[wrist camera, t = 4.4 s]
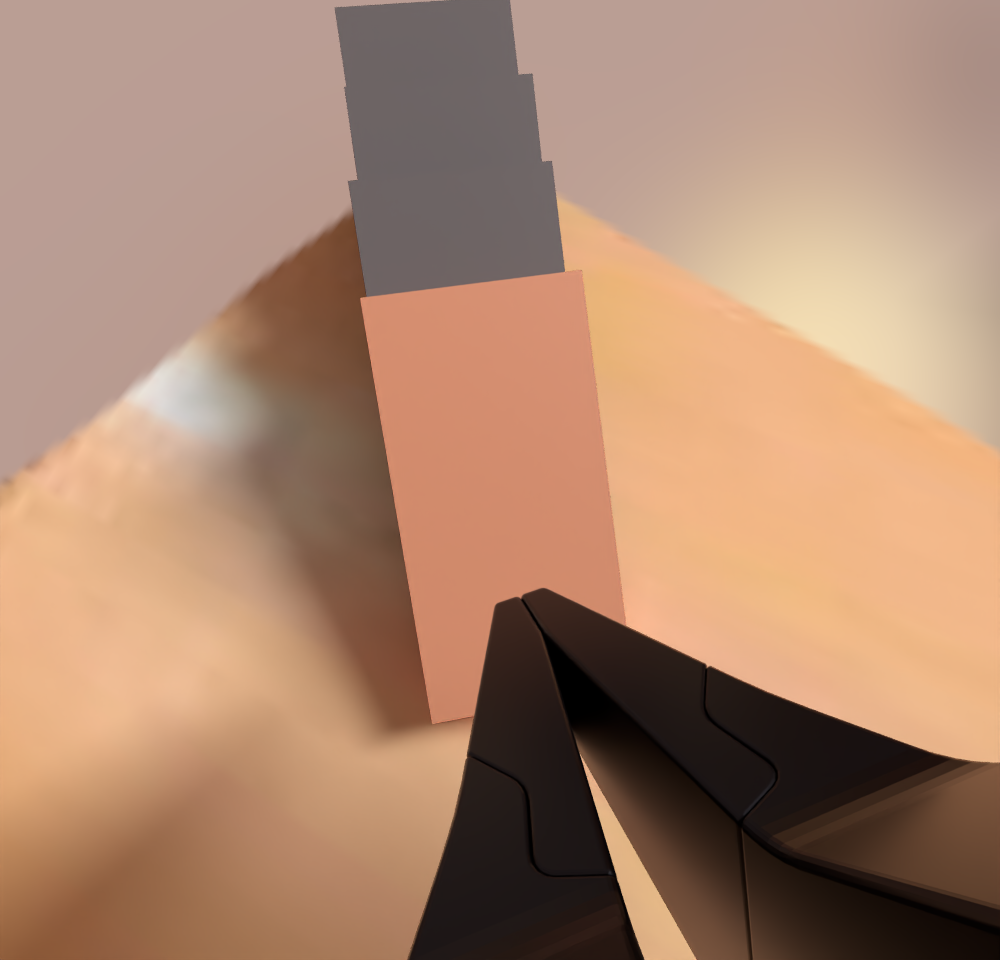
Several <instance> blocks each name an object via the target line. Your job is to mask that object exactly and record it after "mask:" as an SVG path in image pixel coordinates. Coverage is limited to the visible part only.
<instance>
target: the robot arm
mask: <svg viewBox="0 0 1000 960" xmlns="http://www.w3.org/2000/svg"><path fill="white" fill-rule="evenodd" d="M579 752H580V753H579ZM580 754H581V756H582V758H583V759H584V761H585V763H586V765H587V766H588V768H589V770H590V772H591V773H592V775H593V777H594V779H595V781H596V782H597V784H598V786H599V788H600V789H601V791H602V793H603V795H604V796H605V798H606V800H607V802H608V804H609V805H610V807H611V809H612V811H613V812H614V814H615V816H616V818H617V819H618V821H619V823H620V825H621V827H622V828H623V830H624V832H625V834H626V835H627V837H628V839H629V841H630V842H631V844H632V846H633V848H634V849H635V851H636V853H637V855H638V857H639V858H640V860H641V862H642V864H643V865H644V867H645V869H646V871H647V872H648V874H649V876H650V878H651V880H652V881H653V883H654V885H655V887H656V888H657V890H658V892H659V894H660V895H661V897H662V899H663V901H664V903H665V904H666V906H667V908H668V910H669V911H670V913H671V915H672V917H673V918H674V920H675V922H676V924H677V926H678V927H679V929H680V931H681V933H682V934H683V936H684V938H685V940H686V941H687V943H688V945H689V947H690V949H691V950H692V952H693V954H694V956H695V957H696V959H697V960H1000V763H990V762H976V761H968V760H962V759H956V758H952V757H948V756H944V755H940V754H936V753H933V752H929V751H926V750H923V749H920V748H917V747H914V746H912V745H909V744H906V743H903V742H901V741H898V740H895V739H892V738H890V737H887V736H884V735H881V734H879V733H876V732H873V731H870V730H868V729H865V728H862V727H860V726H857V725H854V724H851V723H849V722H846V721H843V720H840V719H838V718H835V717H832V716H829V715H827V714H824V713H821V712H818V711H816V710H813V709H810V708H808V707H805V706H803V705H800V704H797V703H795V702H792V701H790V700H787V699H785V698H782V697H779V696H777V695H774V694H772V693H769V692H767V691H764V690H762V689H760V688H758V687H755V686H753V685H751V684H749V683H746V682H744V681H742V680H740V679H737V678H735V677H733V676H731V675H729V674H727V673H724V672H722V671H720V670H718V669H716V668H714V667H712V666H709V667H708V668H707V665H706V664H705V663H703V662H701V661H699V660H697V659H695V658H692V657H690V656H688V655H686V654H684V653H682V652H680V651H678V650H676V649H673V648H671V647H669V646H667V645H665V644H663V643H661V642H659V641H657V640H655V639H652V638H650V637H648V636H646V635H644V634H642V633H640V632H638V631H636V630H633V629H631V628H629V627H627V626H625V625H623V624H621V623H619V622H617V621H615V620H612V619H610V618H608V617H606V616H604V615H602V614H600V613H598V612H596V611H593V610H591V609H589V608H587V607H585V606H583V605H581V604H579V603H577V602H575V601H572V600H570V599H568V598H566V597H564V596H562V595H560V594H558V593H556V592H553V591H551V590H549V589H547V588H539V589H536V590H534V591H531V592H528V593H525V594H523V595H522V596H521V598H519V597H513V598H510V599H507V600H504V601H501V602H499V603H497V604H496V605H495V607H494V612H493V617H492V622H491V628H490V633H489V638H488V644H487V649H486V654H485V660H484V665H483V671H482V676H481V681H480V687H479V692H478V697H477V703H476V708H475V713H474V719H473V724H472V730H471V735H470V740H469V746H468V751H467V759H466V761H465V766H464V771H463V776H462V782H461V786H460V791H459V795H458V799H457V804H456V808H455V813H454V817H453V820H452V824H451V827H450V830H449V834H448V837H447V840H446V844H445V847H444V850H443V854H442V857H441V860H440V863H439V866H438V869H437V872H436V875H435V878H434V881H433V884H432V887H431V890H430V893H429V896H428V899H427V902H426V905H425V908H424V911H423V914H422V917H421V920H420V923H419V926H418V929H417V932H416V935H415V938H414V941H413V944H412V947H411V950H410V953H409V956H408V959H407V960H644V957H643V955H642V952H641V949H640V947H639V944H638V941H637V938H636V936H635V933H634V930H633V927H632V924H631V921H630V918H629V915H628V912H627V909H626V905H625V902H624V899H623V896H622V893H621V889H620V886H619V883H618V881H617V876H616V873H615V869H614V866H613V863H612V859H611V856H610V853H609V849H608V846H607V843H606V839H605V836H604V833H603V830H602V826H601V823H600V820H599V816H598V813H597V810H596V806H595V803H594V800H593V796H592V793H591V790H590V786H589V783H588V780H587V776H586V773H585V770H584V766H583V763H582V760H581V757H580Z"/></svg>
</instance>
